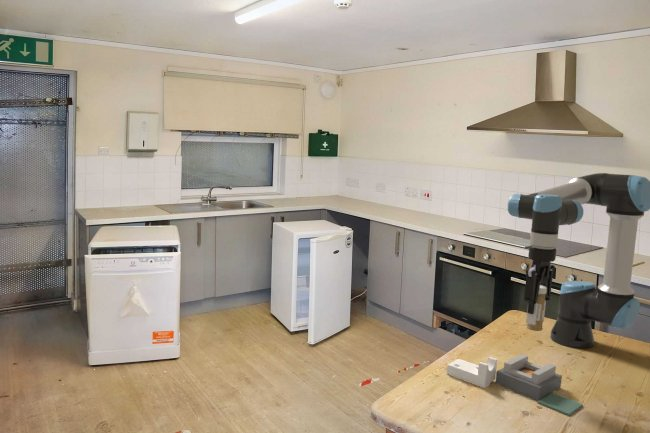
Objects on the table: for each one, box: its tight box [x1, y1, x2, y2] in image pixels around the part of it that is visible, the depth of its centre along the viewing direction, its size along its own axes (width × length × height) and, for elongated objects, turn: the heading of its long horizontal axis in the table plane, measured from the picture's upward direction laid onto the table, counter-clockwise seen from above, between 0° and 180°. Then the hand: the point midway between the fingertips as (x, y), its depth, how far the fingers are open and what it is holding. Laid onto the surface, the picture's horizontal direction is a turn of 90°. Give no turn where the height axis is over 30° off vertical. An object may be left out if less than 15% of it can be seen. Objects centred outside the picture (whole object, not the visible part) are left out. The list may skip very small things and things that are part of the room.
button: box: [521, 370, 534, 375], centre depth 167 cm, size 5×5×3 cm
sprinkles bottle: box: [526, 285, 547, 332], centre depth 164 cm, size 5×5×13 cm
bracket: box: [446, 356, 498, 389], centre depth 171 cm, size 13×7×8 cm, turn 48°
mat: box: [537, 392, 584, 417], centre depth 156 cm, size 9×9×1 cm
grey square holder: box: [495, 353, 563, 402], centre depth 167 cm, size 14×14×7 cm
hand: (534, 321), depth 164 cm, fingers closed on sprinkles bottle, 4 cm apart
